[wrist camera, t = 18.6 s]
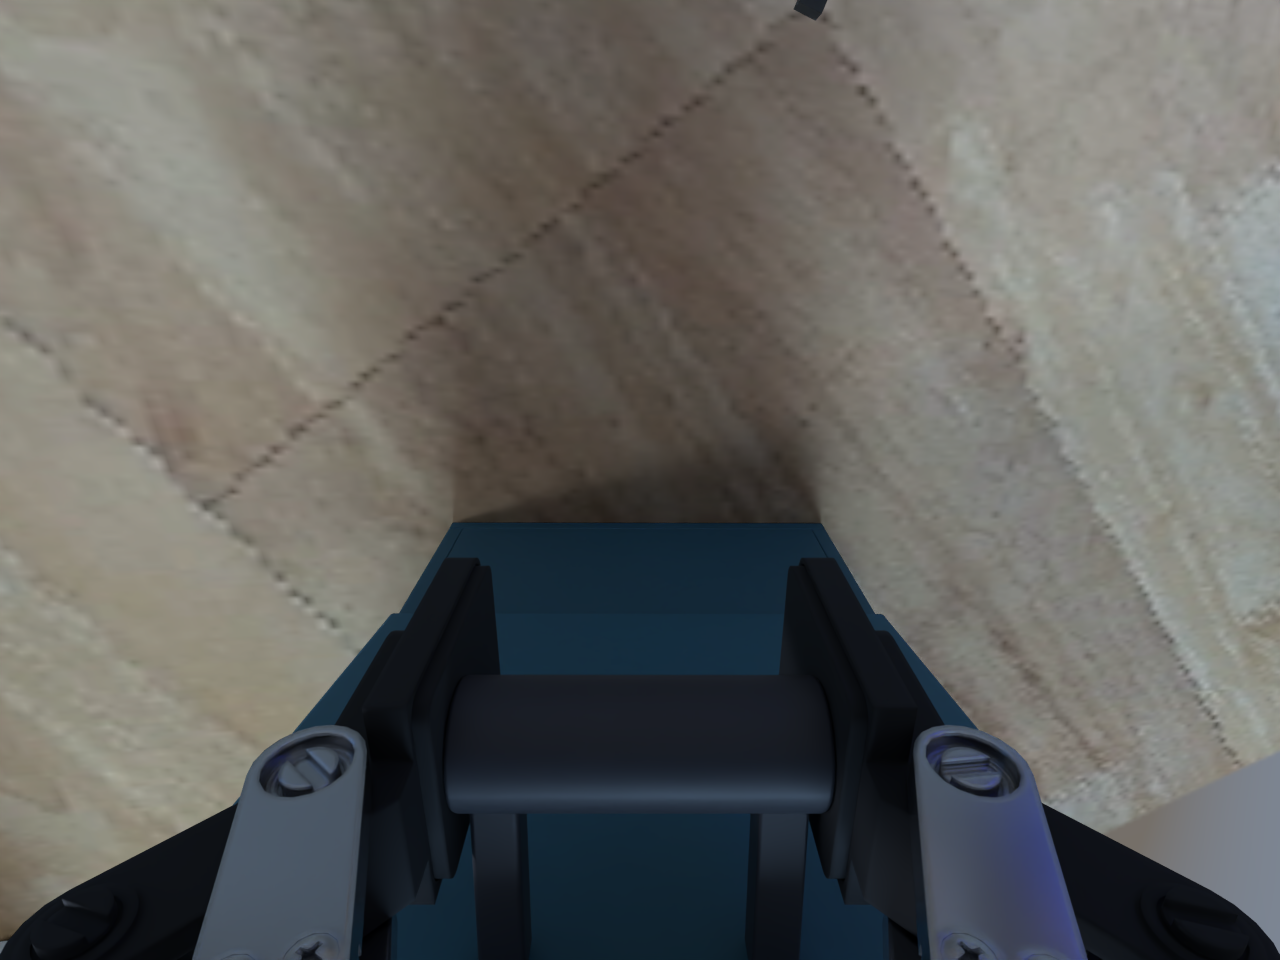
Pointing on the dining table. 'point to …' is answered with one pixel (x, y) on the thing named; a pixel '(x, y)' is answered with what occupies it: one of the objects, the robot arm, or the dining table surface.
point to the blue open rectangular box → (636, 566)
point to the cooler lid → (638, 795)
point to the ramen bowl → (810, 7)
